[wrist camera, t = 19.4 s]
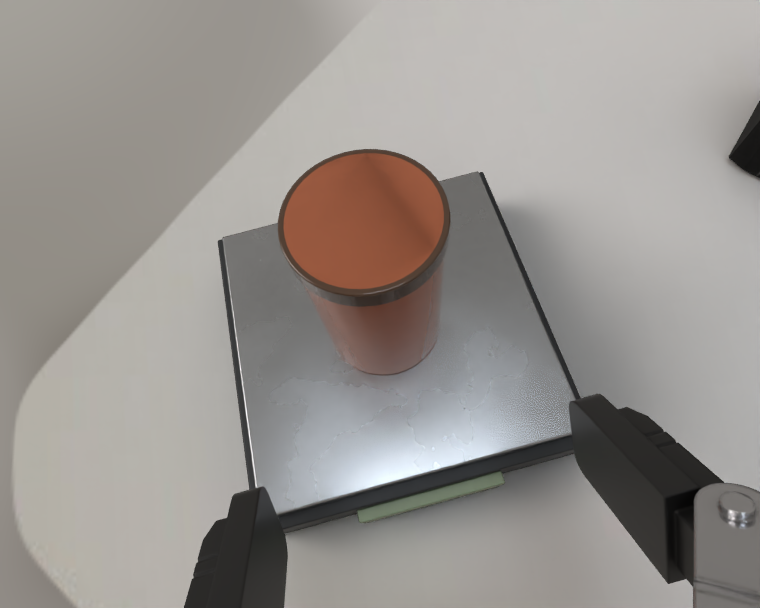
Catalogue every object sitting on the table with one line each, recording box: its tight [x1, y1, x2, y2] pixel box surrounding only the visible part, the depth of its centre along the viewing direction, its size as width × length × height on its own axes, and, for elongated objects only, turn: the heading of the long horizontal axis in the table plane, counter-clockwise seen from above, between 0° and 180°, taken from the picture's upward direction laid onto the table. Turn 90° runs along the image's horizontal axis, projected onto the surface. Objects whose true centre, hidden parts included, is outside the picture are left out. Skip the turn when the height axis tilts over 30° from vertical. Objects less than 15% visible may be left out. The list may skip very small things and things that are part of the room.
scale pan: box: [222, 172, 576, 516], centre depth 22 cm, size 13×13×1 cm
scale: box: [218, 172, 581, 533], centre depth 23 cm, size 14×14×3 cm
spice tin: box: [278, 149, 451, 375], centre depth 18 cm, size 5×5×8 cm
